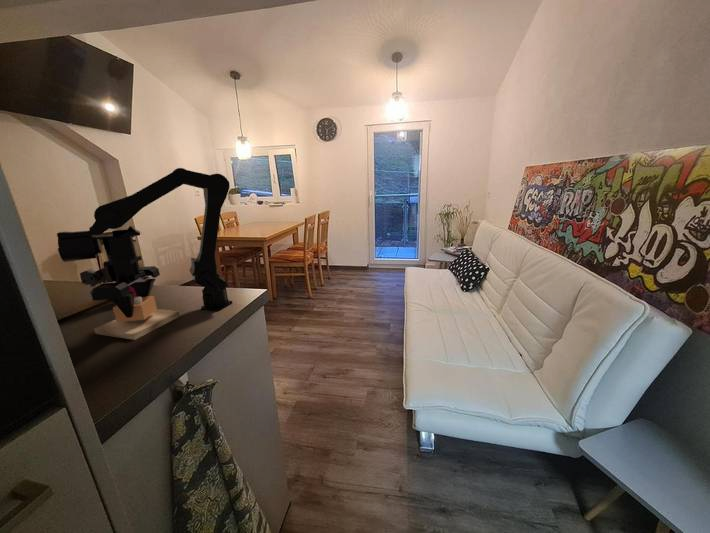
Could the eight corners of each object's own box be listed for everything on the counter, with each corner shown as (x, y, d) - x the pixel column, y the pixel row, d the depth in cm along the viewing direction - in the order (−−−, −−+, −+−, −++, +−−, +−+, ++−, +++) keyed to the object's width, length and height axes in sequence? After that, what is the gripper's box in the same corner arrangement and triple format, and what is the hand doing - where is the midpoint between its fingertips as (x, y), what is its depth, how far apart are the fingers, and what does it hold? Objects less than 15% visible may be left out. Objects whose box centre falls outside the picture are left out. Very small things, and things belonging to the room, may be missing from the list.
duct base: (144, 312, 82) (138, 288, 80) (179, 316, 79) (174, 291, 77) (95, 333, 70) (87, 306, 68) (134, 339, 67) (126, 311, 65)
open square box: (131, 311, 77) (128, 298, 75) (157, 309, 78) (153, 295, 76) (116, 322, 70) (112, 307, 69) (144, 319, 72) (140, 305, 70)
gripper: (110, 249, 77) (124, 301, 81) (52, 267, 59) (75, 332, 64) (154, 246, 79) (166, 297, 83) (111, 263, 61) (128, 327, 65)
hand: (137, 311), depth 74 cm, fingers closed on open square box, 6 cm apart
